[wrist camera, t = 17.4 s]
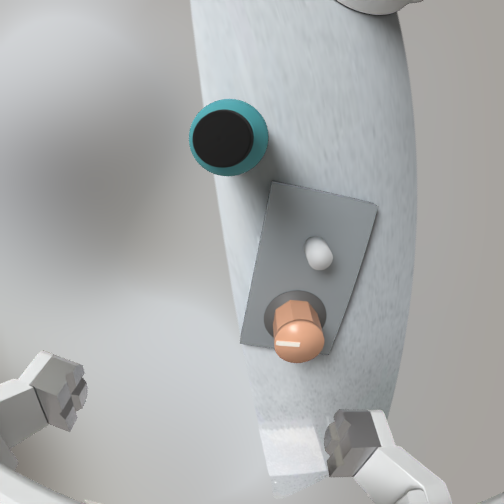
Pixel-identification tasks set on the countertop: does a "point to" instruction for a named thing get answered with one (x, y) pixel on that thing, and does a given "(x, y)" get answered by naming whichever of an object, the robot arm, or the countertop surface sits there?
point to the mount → (306, 258)
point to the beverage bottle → (228, 137)
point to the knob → (297, 332)
